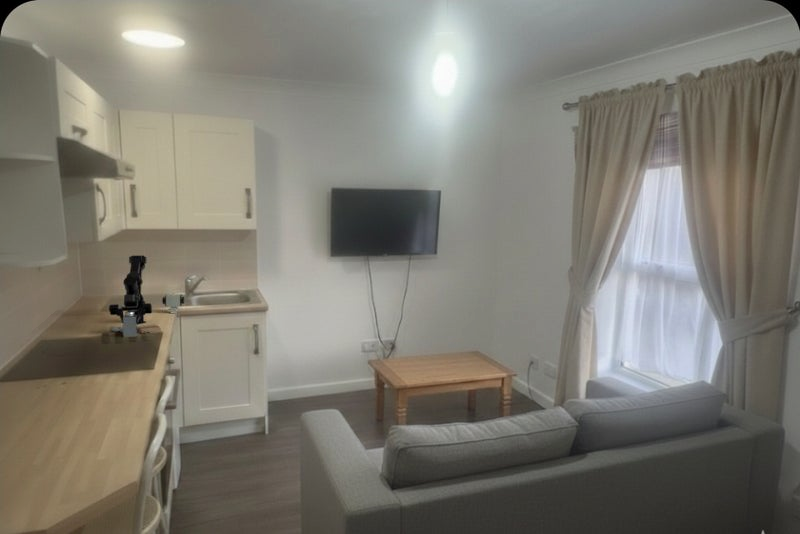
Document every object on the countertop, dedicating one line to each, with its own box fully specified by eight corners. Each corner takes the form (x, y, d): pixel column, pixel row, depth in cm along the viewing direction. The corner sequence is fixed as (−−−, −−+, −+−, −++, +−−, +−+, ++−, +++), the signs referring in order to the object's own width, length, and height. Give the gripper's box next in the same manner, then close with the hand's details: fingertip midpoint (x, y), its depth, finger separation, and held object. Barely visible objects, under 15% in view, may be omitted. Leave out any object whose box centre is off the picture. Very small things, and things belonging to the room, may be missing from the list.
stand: (136, 330, 263) (136, 326, 263) (155, 328, 269) (155, 324, 269) (141, 333, 256) (141, 330, 256) (160, 331, 262) (160, 327, 262)
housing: (124, 334, 253) (124, 311, 252) (137, 334, 255) (136, 310, 254) (123, 337, 249) (122, 313, 248) (136, 336, 251) (135, 312, 250)
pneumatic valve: (183, 313, 305) (183, 293, 303) (162, 314, 301) (162, 294, 300) (185, 311, 310) (184, 292, 308) (164, 312, 307) (163, 292, 305)
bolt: (108, 332, 257) (108, 325, 257) (113, 330, 261) (113, 323, 260) (121, 333, 256) (121, 326, 256) (126, 331, 260) (126, 324, 259)
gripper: (108, 288, 250) (105, 315, 241) (151, 287, 257) (149, 313, 248) (111, 301, 258) (109, 327, 249) (152, 300, 265) (151, 325, 256)
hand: (129, 323), depth 250 cm, fingers closed on housing, 5 cm apart
